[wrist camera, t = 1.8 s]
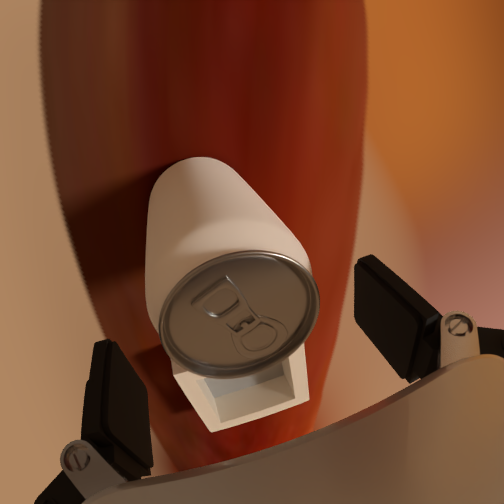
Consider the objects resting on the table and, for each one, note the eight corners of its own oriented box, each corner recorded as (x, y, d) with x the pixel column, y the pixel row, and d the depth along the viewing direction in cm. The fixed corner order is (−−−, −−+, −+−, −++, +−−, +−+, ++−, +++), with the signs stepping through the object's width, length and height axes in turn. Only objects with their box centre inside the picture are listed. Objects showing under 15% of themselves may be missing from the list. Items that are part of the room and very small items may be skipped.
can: (190, 264, 22) (225, 404, 12) (128, 199, 19) (103, 326, 9) (263, 208, 22) (354, 318, 12) (208, 134, 18) (273, 192, 8)
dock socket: (168, 341, 25) (173, 375, 22) (285, 304, 27) (302, 333, 24) (204, 403, 31) (211, 432, 28) (295, 373, 32) (309, 399, 29)
